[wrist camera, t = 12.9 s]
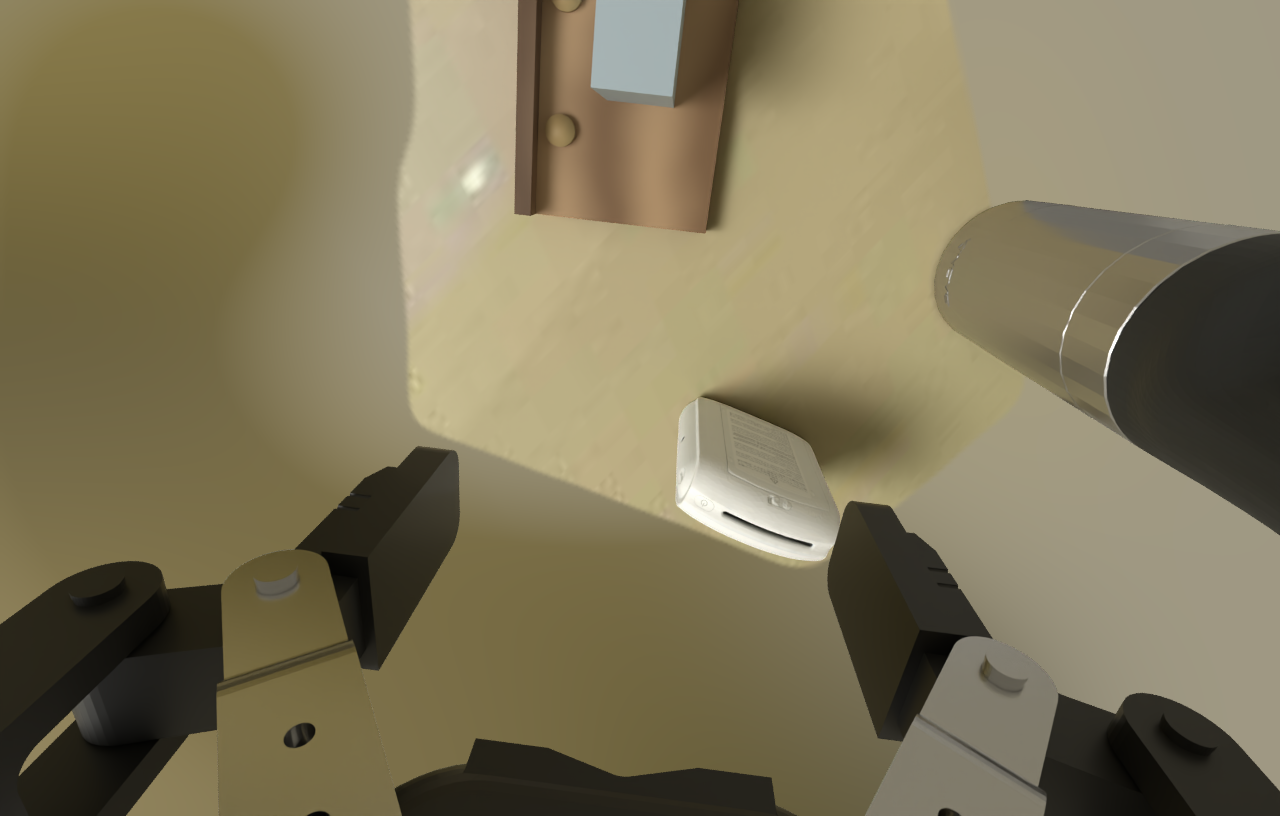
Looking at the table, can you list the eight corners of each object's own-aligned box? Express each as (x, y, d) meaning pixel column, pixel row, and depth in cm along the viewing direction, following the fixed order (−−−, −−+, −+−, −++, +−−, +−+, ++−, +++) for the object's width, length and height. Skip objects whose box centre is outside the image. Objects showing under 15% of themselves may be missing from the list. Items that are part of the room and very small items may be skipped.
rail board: (750, -91, 32) (760, -125, 28) (704, 231, 39) (707, 239, 35) (532, -114, 32) (512, -151, 28) (524, 210, 39) (507, 216, 35)
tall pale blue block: (692, -57, 32) (695, -112, 25) (673, 107, 35) (672, 96, 28) (619, -66, 32) (603, -122, 25) (607, 100, 35) (590, 87, 29)
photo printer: (668, 434, 45) (664, 529, 33) (691, 386, 43) (695, 468, 32) (789, 483, 46) (825, 591, 34) (816, 438, 44) (864, 535, 33)
